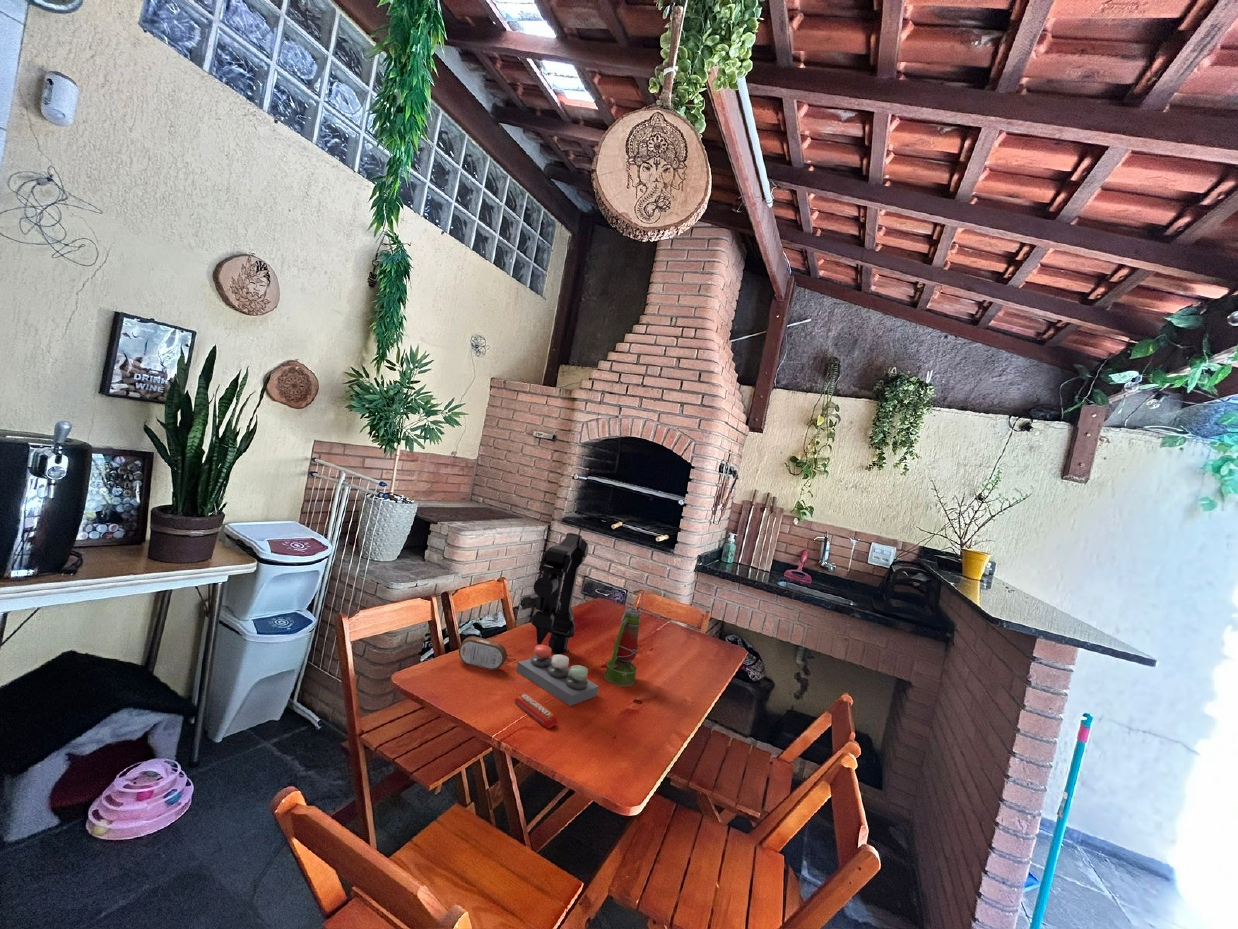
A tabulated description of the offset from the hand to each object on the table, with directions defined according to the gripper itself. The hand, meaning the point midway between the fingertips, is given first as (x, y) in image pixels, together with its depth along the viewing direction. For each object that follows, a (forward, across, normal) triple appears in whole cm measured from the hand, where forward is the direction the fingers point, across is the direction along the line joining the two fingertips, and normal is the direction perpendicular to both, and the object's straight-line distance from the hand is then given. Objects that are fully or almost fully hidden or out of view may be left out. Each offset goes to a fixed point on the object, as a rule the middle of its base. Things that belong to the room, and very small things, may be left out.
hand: (541, 638), depth 160 cm
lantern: (+14, -14, +27) cm, 33 cm away
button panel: (+13, -1, +7) cm, 15 cm away
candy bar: (+14, +19, +4) cm, 24 cm away
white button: (+7, -1, +7) cm, 10 cm away
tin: (+14, -2, -18) cm, 22 cm away
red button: (+7, -6, 0) cm, 10 cm away
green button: (+7, +4, +13) cm, 15 cm away
